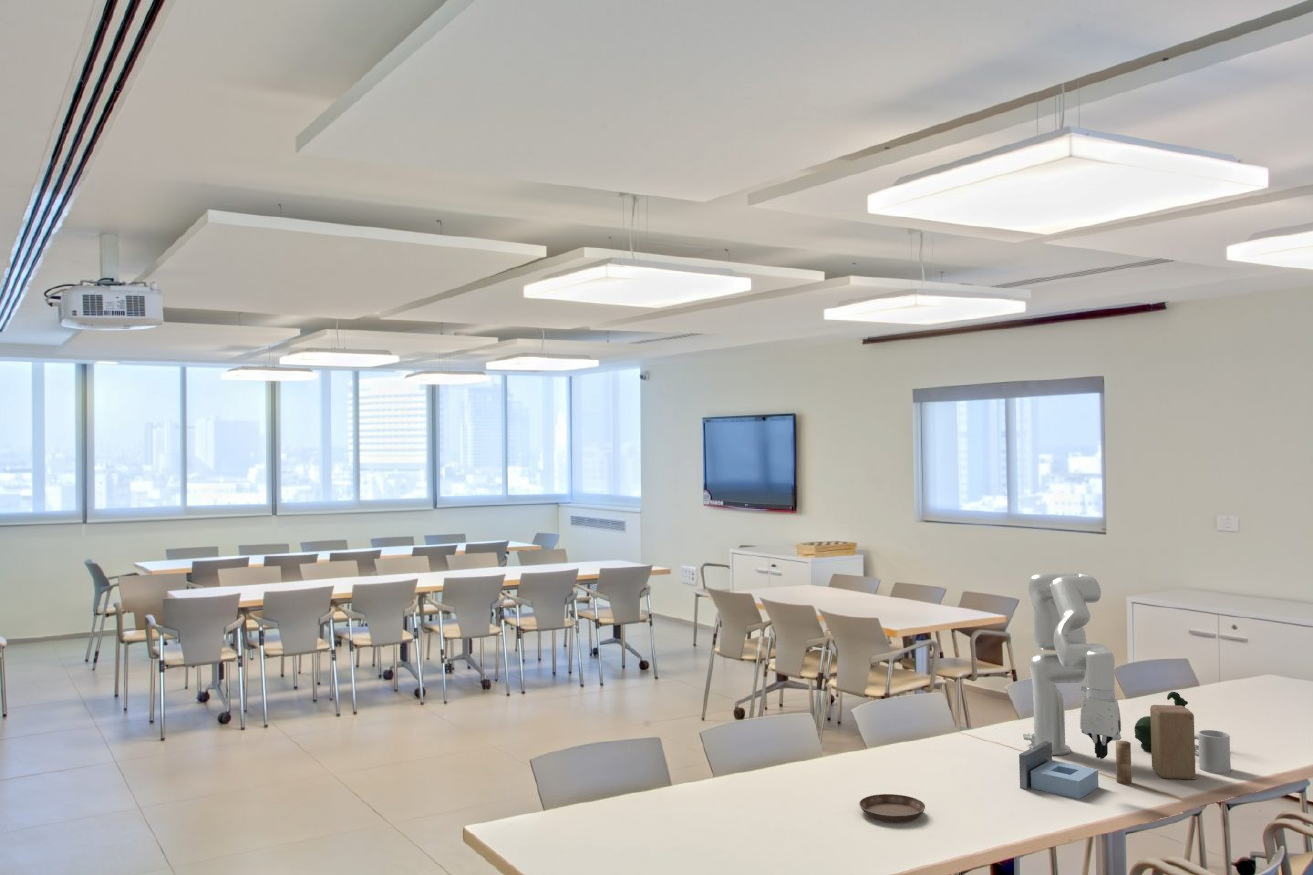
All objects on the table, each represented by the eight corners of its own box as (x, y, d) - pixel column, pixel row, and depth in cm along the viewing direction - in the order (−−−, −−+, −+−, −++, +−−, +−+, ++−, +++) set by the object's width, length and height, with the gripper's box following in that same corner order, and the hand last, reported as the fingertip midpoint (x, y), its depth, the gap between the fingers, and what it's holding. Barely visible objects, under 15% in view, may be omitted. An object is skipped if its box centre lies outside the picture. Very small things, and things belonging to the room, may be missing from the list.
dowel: (1114, 783, 295) (1113, 742, 295) (1119, 779, 297) (1118, 739, 298) (1128, 786, 292) (1127, 745, 292) (1133, 782, 295) (1132, 742, 295)
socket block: (1031, 787, 291) (1030, 770, 291) (1051, 776, 301) (1050, 759, 301) (1079, 798, 281) (1078, 781, 281) (1098, 786, 291) (1098, 769, 291)
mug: (1236, 770, 304) (1235, 734, 304) (1219, 775, 300) (1218, 738, 300) (1199, 760, 315) (1198, 725, 315) (1182, 764, 311) (1181, 729, 311)
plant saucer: (846, 809, 277) (846, 798, 277) (898, 800, 284) (897, 789, 284) (885, 831, 261) (885, 819, 261) (939, 820, 268) (939, 808, 268)
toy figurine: (1169, 744, 338) (1121, 749, 326) (1170, 688, 339) (1123, 690, 327) (1195, 751, 330) (1147, 756, 318) (1197, 693, 331) (1149, 696, 319)
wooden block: (1196, 780, 296) (1194, 713, 296) (1160, 778, 298) (1158, 711, 298) (1186, 770, 306) (1184, 704, 306) (1151, 768, 308) (1149, 703, 308)
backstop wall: (1019, 788, 291) (1019, 754, 292) (1046, 773, 304) (1045, 741, 304) (1026, 789, 290) (1025, 755, 290) (1052, 775, 303) (1051, 742, 303)
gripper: (1068, 691, 287) (1069, 754, 287) (1122, 700, 276) (1123, 766, 276) (1079, 686, 292) (1080, 748, 292) (1132, 695, 281) (1133, 759, 282)
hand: (1101, 756), depth 284 cm, fingers closed
